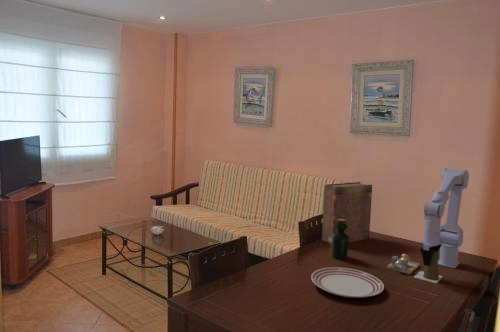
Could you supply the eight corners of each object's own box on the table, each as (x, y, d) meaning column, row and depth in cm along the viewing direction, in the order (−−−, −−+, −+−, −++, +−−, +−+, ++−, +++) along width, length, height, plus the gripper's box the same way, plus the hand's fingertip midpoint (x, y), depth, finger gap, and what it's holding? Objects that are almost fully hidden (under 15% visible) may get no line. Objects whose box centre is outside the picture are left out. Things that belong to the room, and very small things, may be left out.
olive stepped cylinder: (440, 280, 172) (442, 254, 170) (424, 279, 173) (426, 253, 172) (436, 275, 178) (439, 250, 176) (421, 273, 179) (423, 248, 177)
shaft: (400, 261, 190) (401, 252, 190) (409, 263, 188) (410, 254, 187) (391, 268, 181) (392, 259, 181) (401, 270, 179) (401, 261, 179)
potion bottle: (350, 256, 199) (353, 219, 197) (344, 261, 192) (347, 222, 190) (334, 253, 203) (336, 216, 201) (328, 257, 197) (330, 220, 194)
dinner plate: (384, 280, 172) (385, 272, 171) (381, 309, 146) (382, 300, 146) (317, 270, 181) (318, 263, 180) (303, 295, 155) (304, 287, 155)
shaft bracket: (397, 260, 196) (398, 248, 195) (419, 265, 190) (420, 253, 189) (386, 268, 185) (387, 256, 184) (409, 274, 179) (410, 261, 178)
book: (356, 234, 236) (360, 181, 232) (369, 239, 228) (372, 184, 224) (321, 240, 223) (324, 184, 219) (333, 245, 215) (336, 187, 212)
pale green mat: (420, 271, 182) (420, 270, 182) (442, 277, 177) (442, 276, 177) (413, 277, 175) (413, 276, 175) (436, 283, 170) (436, 282, 170)
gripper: (427, 225, 182) (424, 256, 184) (416, 232, 171) (414, 265, 172) (444, 229, 177) (441, 260, 179) (435, 236, 166) (432, 269, 168)
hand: (429, 262), depth 175 cm, fingers open, 7 cm apart
